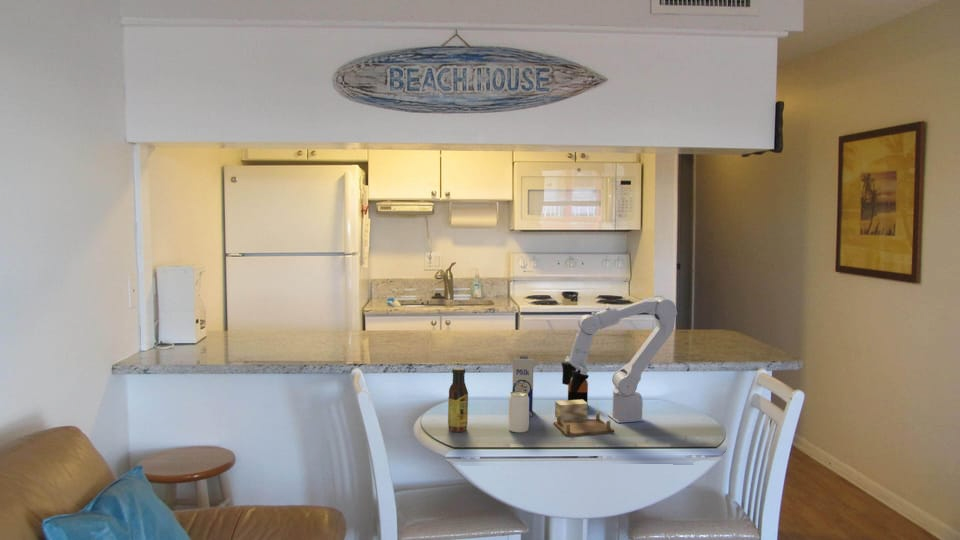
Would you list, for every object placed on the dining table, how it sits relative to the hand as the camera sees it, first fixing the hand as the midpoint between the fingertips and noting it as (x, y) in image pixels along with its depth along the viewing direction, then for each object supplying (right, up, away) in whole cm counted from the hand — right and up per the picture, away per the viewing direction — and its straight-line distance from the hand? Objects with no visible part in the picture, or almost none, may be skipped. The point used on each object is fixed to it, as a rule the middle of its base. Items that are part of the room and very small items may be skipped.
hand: (569, 388), depth 209 cm
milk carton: (-15, -10, +6) cm, 19 cm away
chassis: (+3, -11, -8) cm, 15 cm away
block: (+1, -11, +2) cm, 11 cm away
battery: (+5, -9, +15) cm, 18 cm away
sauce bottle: (-37, -11, -11) cm, 40 cm away
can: (-18, -12, -10) cm, 24 cm away
